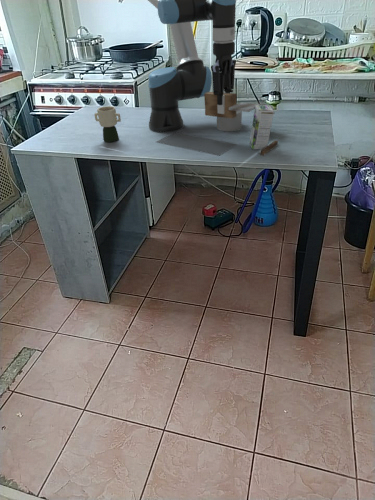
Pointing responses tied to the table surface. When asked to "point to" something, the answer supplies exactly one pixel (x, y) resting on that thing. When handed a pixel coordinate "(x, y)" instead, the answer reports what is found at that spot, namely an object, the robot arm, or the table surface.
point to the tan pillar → (229, 105)
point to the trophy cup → (108, 122)
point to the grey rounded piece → (230, 122)
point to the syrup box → (261, 126)
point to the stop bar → (268, 147)
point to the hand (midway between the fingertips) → (223, 112)
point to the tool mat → (197, 143)
